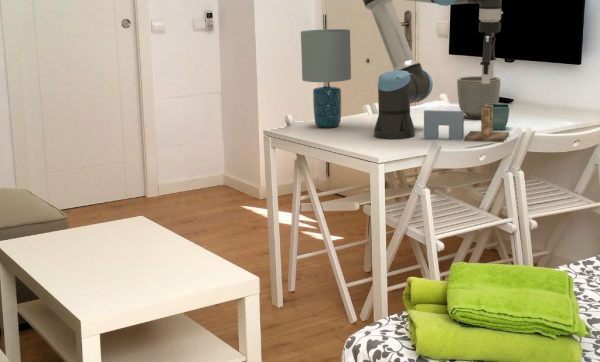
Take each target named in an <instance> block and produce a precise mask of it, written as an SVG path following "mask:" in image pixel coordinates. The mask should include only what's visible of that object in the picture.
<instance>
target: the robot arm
mask: <svg viewBox="0 0 600 362" xmlns="http://www.w3.org/2000/svg"><path fill="white" fill-rule="evenodd" d="M362 1H363V4H364V6H365V9H367V10H368V11H371V15H372V16H373V19H374V21H375V24H376V27H377V31H378V32H379V34H380V38H381V39H382V42H383V44H384V47H385V48H384V49H385V50H386V54H387V55H388V58H389V61H390V64H391V66H392V70H390V71H386V72H383V73H381V74H380V75H379V76H378V82H377V93H378V94H377V95H378V98H377V99H378V101H377V102H378V103H377V104H378V105H377V106H378V115H377V119H376V122H375V126H374V128H373V129H374V130H373V136H374V137H376V138H380V139H390V140H391V139H393V140H394V139H396V140H397V139H406V138H411V137H415V135H416V128H415V125H414V123H413V119H412V117H411V104H413V103H419V102H421V101H423V100H425V99H427V98H428V97H429V96H430V94H431V93H432V90H433V85H434V83H433V78H432V76H431V75H430V74H429V72H428V71H426V70H424V69H423V67H422V65H421V63H420V61H417V60H416V59H415V58H414V56H413V53H412V50H411V47H410V45H409V42H408V40H407V38H406V35H405V34H406V33H405V32H404V30H403V29H404V28H403V27H402V25H401V22H400V19H399V16H398V14H397V12H396V9H395V6H394V3H393V0H362ZM406 1H407V2H409V1H410V2H419V3H429V4H436V5H439V6H444V7H445V6H446V7H447V6H451V5H462V4H479V8H478V9H479V10H478V11H479V13H478V15H479V16H478V20H479V22H478V33H485V34H484V36H483V38H482V43H483V45H482V59H481V62H480V63H479V65H480V66H481V67H482V68H481V76H482V84H490V79H493V77H494V72H495V70H494V68H495V61H497V56H495V48H496V47H495V46H496V43H495V42H496V37H495V36H496V34H497V33H498V34H499V33H500V32H501V31H502V30H501V27H502V22H501V19H502V15H503V14H504V12H503V10H502V3H503V2H502V0H406Z"/></svg>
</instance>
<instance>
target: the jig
mask: <svg viewBox="0 0 600 362" xmlns="http://www.w3.org/2000/svg"><path fill="white" fill-rule="evenodd" d="M480 122H481V123H480V124H481V125H480V129H481V130H480V131H479V130H478V131H477V130H470V131H469V132H468V133H467V134H466V135H464V139H463V140H464V141H465V142H490V143H491V142H492V143H495V142H496V143H502V142H501V141H504V140H505V139H506V138H507V137H508V138H509V135H510V132H509V131H494V130H493V105H486V106H485V108H483V109H482V110H481V119H480ZM508 138H507V139H508ZM507 139H506V140H507ZM506 140H505V141H506Z"/></svg>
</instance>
